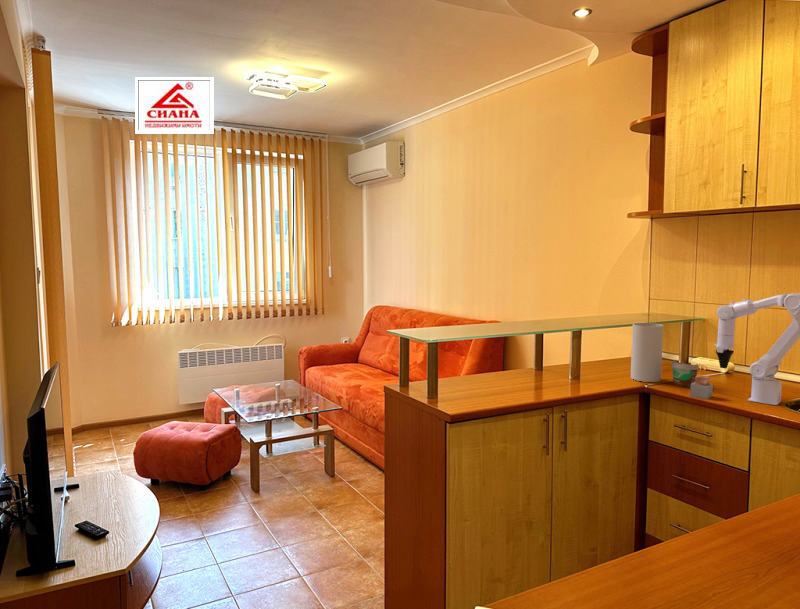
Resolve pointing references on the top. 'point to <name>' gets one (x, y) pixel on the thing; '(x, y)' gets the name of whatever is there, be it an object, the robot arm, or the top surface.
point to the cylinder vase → (646, 352)
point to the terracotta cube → (702, 380)
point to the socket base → (701, 391)
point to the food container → (684, 374)
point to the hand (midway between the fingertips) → (723, 367)
